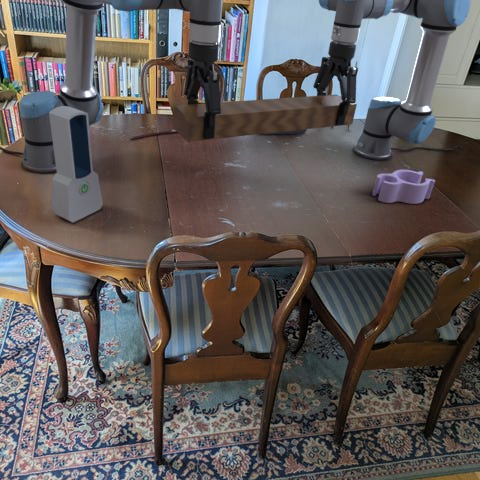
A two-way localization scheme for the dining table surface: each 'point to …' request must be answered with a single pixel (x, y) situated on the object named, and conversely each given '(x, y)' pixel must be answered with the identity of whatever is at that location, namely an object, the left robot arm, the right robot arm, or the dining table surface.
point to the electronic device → (73, 165)
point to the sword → (153, 134)
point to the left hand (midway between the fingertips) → (200, 131)
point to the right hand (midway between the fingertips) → (328, 118)
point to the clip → (402, 187)
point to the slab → (261, 116)
